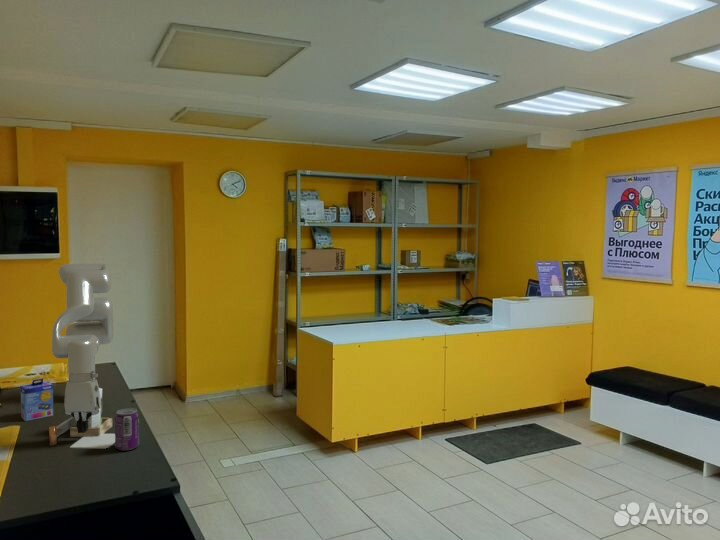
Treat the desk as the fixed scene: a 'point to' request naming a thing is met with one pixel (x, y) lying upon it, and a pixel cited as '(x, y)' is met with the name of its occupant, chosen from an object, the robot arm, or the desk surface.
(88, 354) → the robot arm
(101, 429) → the cradle
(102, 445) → the mat
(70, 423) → the lever
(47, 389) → the ink cartridge box
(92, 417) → the syrup box
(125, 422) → the beverage can
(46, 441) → the desk surface
